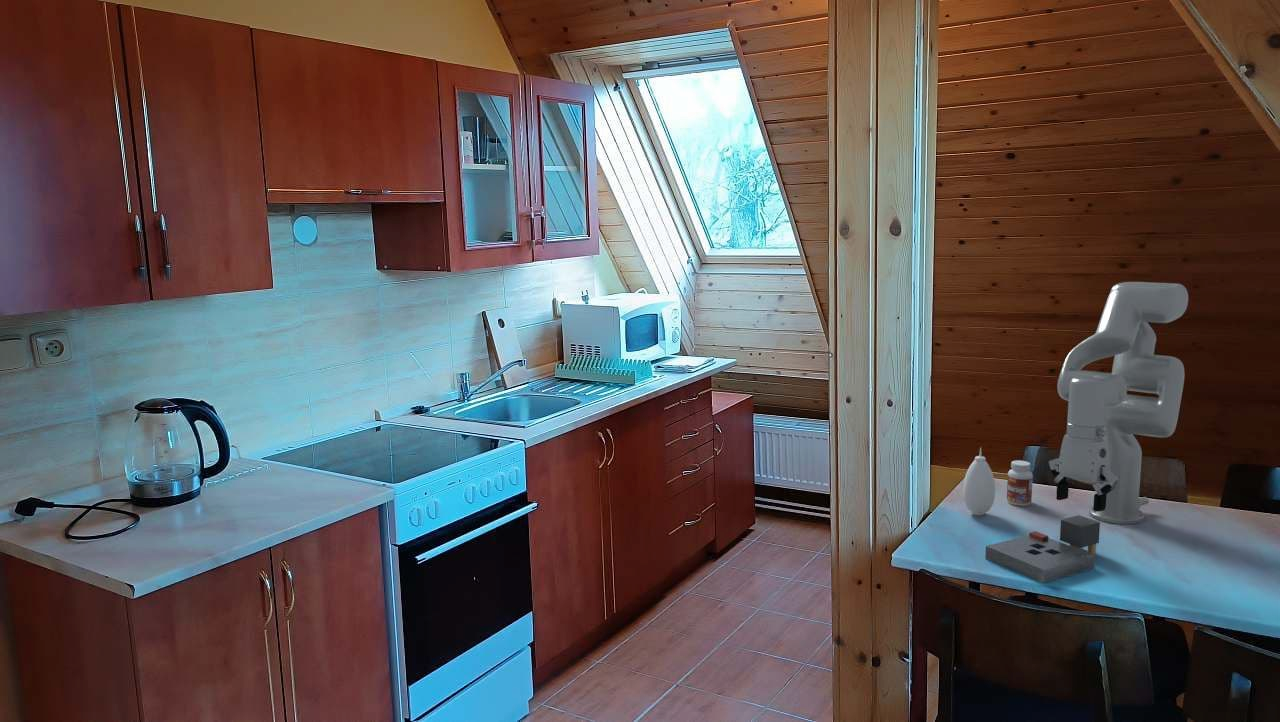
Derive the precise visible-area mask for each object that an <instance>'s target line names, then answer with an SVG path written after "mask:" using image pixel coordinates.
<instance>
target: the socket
mask: <svg viewBox="0 0 1280 722" xmlns="http://www.w3.org/2000/svg"><path fill="white" fill-rule="evenodd" d="M984 555H985V559H986V560H988V561H990V562H993V563H995V564H997V565H1000V566H1002V567H1004V568H1007V569H1009V570H1011V571H1014V572H1016V573H1018V574H1021V575H1023V576H1026V577H1028V578H1030V579H1033V580H1034V581H1037V582H1039V583H1042V584H1047V583H1050V582H1053V581H1057V580H1060V579H1063V578H1067V577H1070V576H1072V575H1077V574H1080V573H1084V572H1087V571H1090V570H1093V569H1095V568H1096V567H1095V566H1096V565H1095V564H1096V554H1091V553H1088V551H1086V550H1082V549H1081V548H1079V549H1077V548H1074V547H1072V546H1070V544H1069V545H1068V544H1067V543H1065V542H1062V541H1061V542H1060V541H1058V540H1055V539H1052V538H1050V537H1049V535H1047V534H1044V533H1041V532H1039V531H1036V530H1034V531H1032V532H1029V534H1026V535H1023V536H1019V537H1015V538H1014V537H1013V538H1011V539H1008V540H1004V541H1000V542H997V543H993V544H989V545H985V554H984Z"/></svg>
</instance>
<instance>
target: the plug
mask: <svg viewBox="0 0 1280 722" xmlns="http://www.w3.org/2000/svg"><path fill="white" fill-rule="evenodd" d="M1100 525H1101V522H1100V521H1097V520H1095V519H1093V518H1088V517H1087V516H1086V517H1085V516H1082V515H1079V514H1077V515H1073V516H1070V517H1067V518H1062V519H1060V528H1059V529H1060V531H1059V533H1060V534H1059V542H1060V541H1061V542H1062V543H1065V544H1067V545H1068V544H1069V546H1072V547H1074V548H1077V549H1083V548H1085V547H1086V548H1087V552H1088V553H1091V554H1093V555H1096V552H1097V544H1099V542H1100V530H1101V529H1100V528H1101V526H1100Z"/></svg>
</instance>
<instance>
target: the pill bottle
mask: <svg viewBox="0 0 1280 722" xmlns="http://www.w3.org/2000/svg"><path fill="white" fill-rule="evenodd" d="M1010 468H1011V469H1009V471H1007V484H1006V501H1007V503H1008V504H1011V505H1013V506H1019V507H1022V506H1023V507H1025V506H1026V507H1027V506H1029V505H1031V503H1032V498H1033V496H1032V493H1033V480H1034V475H1033V472H1032V471H1031V463H1030V462H1029V461H1027V460H1026V461H1025V460H1019V459H1018V460H1013V461H1011V464H1010Z"/></svg>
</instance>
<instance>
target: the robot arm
mask: <svg viewBox="0 0 1280 722" xmlns="http://www.w3.org/2000/svg"><path fill="white" fill-rule="evenodd" d="M1188 303H1189V293H1188V290H1187V288H1186V286H1184V285H1183V284H1180V283H1172V282H1171V283H1170V282H1147V281H1146V282H1145V281H1124V282H1119V283H1116V284H1115V285H1113V286H1112V287H1111V288H1110V292H1109V295H1108V297H1107V299H1106V302H1105V305H1104V307H1103V311H1102V313H1101V316H1100V319H1099V322H1098V325H1097V329H1096V331H1095V333H1094V334H1092V335H1090V336H1089V337H1088V338H1086V339H1084V340H1083V341H1081V342H1080V343H1078V344H1077V345H1076V346H1075V347H1073V348H1072V349H1071V350H1070V351H1069V353H1068V354H1067V356H1066V358H1065V360H1064V362H1063V364H1062V368H1061V370H1060V373H1059V376H1058V379H1057V393H1058V395H1059V397H1060V398H1061V399H1062V400H1064V401H1067V402H1068V405H1067V420H1066V421H1067V422H1066V423H1067V424H1066V434H1064V436H1063V439H1062V443H1061V447H1060V453H1059V457H1058V458H1055V459H1051V460H1049V461H1048V465H1049V467H1050V472H1051V474H1052V476H1053V478H1054V482H1055V483H1056V497H1055V498H1056V500H1057V501H1062V500H1066V499H1068V498H1069V488H1070V483H1069V481H1068V480H1069V479H1070V480H1074V481H1076V482H1080V483H1083V484H1086V485H1087V484H1088V485H1092V487H1093V488H1094V491H1095V492H1096V493H1094V495H1093V505H1092V506H1089V509H1088V513H1089V515H1090V516H1091V517H1093V518H1095V519H1096V520H1099V521H1102V522H1107V523H1109V524H1110V523H1113V524H1121V525H1134V524H1140V523H1142V522H1144V520H1145V518H1146V517H1145V516H1146V515H1145V513H1144V512H1143V511H1141V510H1140V508H1141V506H1144V505H1148V504H1149V501H1150V500H1149V498H1148V497H1146V496H1143V497H1140V487H1141V486H1140V484H1141V473H1142V472H1141V470H1142V455H1143V452H1142V447H1141V445H1140V443H1139V441H1138V440H1137V438H1136V437H1135V436H1134V435H1140V436H1145V437H1153V438H1155V437H1156V438H1163V439H1164V438H1168V437H1171V436H1172V435H1173V434H1174V432H1175V431H1176V428H1177V424H1178V419H1179V413H1180V408H1181V403H1182V402H1181V401H1182V395H1183V390H1184V384H1185V375H1186V374H1185V367H1184V363H1183V362H1182V361H1181V360H1180V359H1179V358H1177V357H1175V356H1170V355H1160V354H1159V355H1158V354H1155V347H1156V343H1157V336H1156V333H1155V331H1154V329H1153V328H1152V327H1151V326H1150V324H1149V323H1158V324H1168V323H1171V322H1174V321H1176V320H1177V319H1179V318H1181V317H1183V315H1184V313H1185V312H1186V311H1187V308H1188ZM1112 357H1114V358H1113V363H1112V370H1111V372H1102V371H1095V370H1092V371H1091V370H1083V368H1084V367H1085V366H1087V365H1088V364H1091V363H1092V362H1095V361H1099V360H1103V359H1106V358H1112ZM1128 391H1129V392H1130V391H1131V392H1139V393H1146V394H1155V395H1157V396H1158V397H1152V396H1142V395H1135V394H1128Z"/></svg>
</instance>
